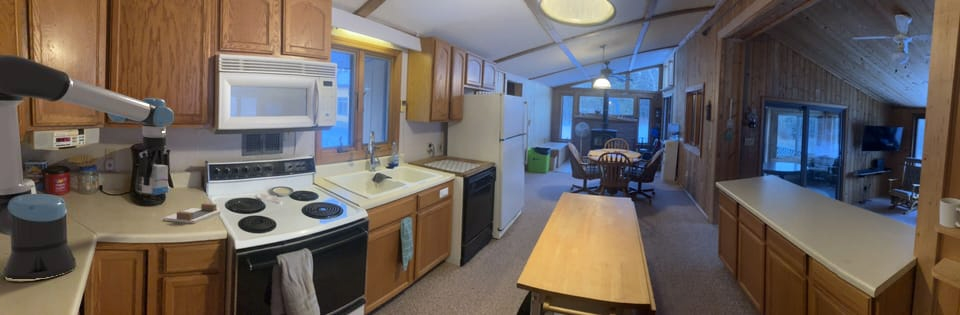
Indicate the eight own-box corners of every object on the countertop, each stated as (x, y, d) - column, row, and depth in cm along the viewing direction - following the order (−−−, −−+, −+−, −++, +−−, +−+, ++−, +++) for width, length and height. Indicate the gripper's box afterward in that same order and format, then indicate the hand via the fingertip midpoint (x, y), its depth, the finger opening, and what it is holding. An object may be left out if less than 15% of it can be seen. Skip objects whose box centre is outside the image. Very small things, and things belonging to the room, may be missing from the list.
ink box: (169, 192, 174) (168, 164, 172) (157, 195, 169) (156, 166, 167) (153, 189, 176) (152, 162, 174) (141, 192, 171) (140, 164, 169)
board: (194, 223, 180) (194, 214, 179) (163, 220, 180) (163, 211, 180) (220, 213, 197) (220, 204, 196) (192, 210, 197) (192, 201, 197)
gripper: (144, 138, 160) (144, 197, 163) (180, 135, 178) (180, 187, 181) (125, 137, 160) (126, 195, 163) (163, 133, 178) (164, 186, 181)
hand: (155, 191), depth 172 cm, fingers closed on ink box, 6 cm apart
